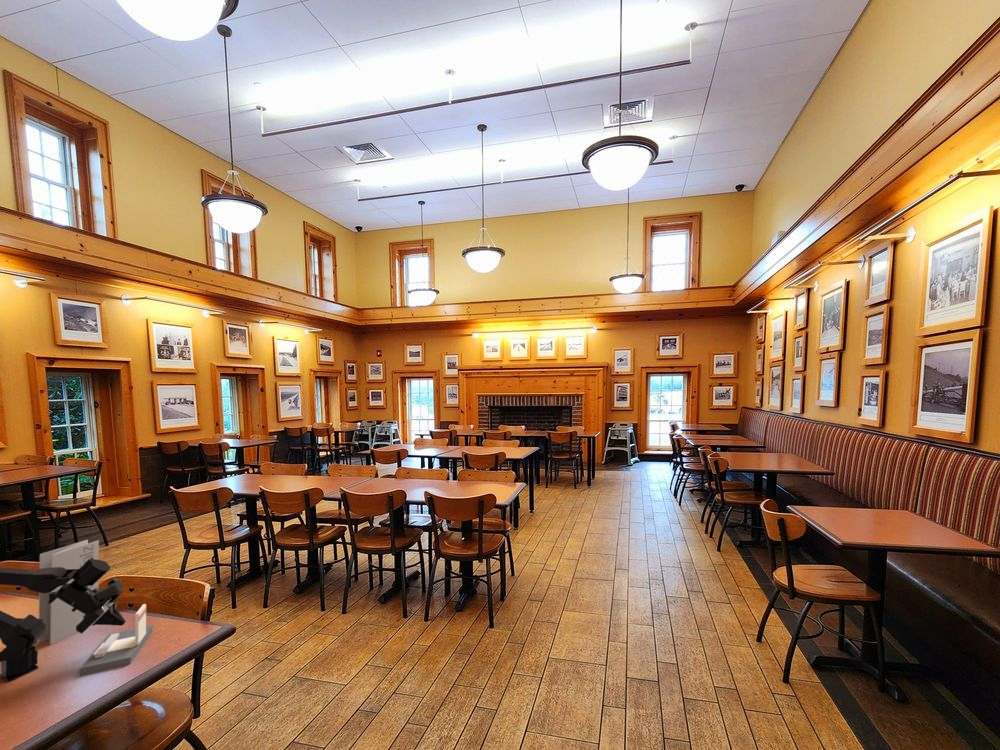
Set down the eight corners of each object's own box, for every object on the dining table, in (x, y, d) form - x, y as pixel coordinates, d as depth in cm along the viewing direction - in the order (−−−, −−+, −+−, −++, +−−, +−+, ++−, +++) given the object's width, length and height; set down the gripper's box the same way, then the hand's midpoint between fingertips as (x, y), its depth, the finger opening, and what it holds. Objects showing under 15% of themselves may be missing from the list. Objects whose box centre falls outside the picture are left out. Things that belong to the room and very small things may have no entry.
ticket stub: (135, 645, 137) (135, 614, 138) (142, 634, 144) (143, 604, 144) (138, 644, 138) (138, 613, 138) (146, 633, 144) (146, 603, 144)
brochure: (50, 644, 143) (51, 555, 144) (38, 643, 144) (39, 554, 145) (98, 622, 157) (98, 540, 158) (86, 620, 158) (87, 539, 159)
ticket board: (80, 675, 127) (80, 663, 127) (109, 639, 145) (109, 629, 145) (130, 663, 132) (130, 652, 132) (152, 630, 150) (152, 621, 150)
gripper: (89, 587, 129) (135, 615, 133) (115, 564, 146) (155, 590, 150) (55, 620, 126) (102, 647, 130) (85, 593, 143) (126, 618, 147)
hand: (124, 623), depth 139 cm, fingers closed
